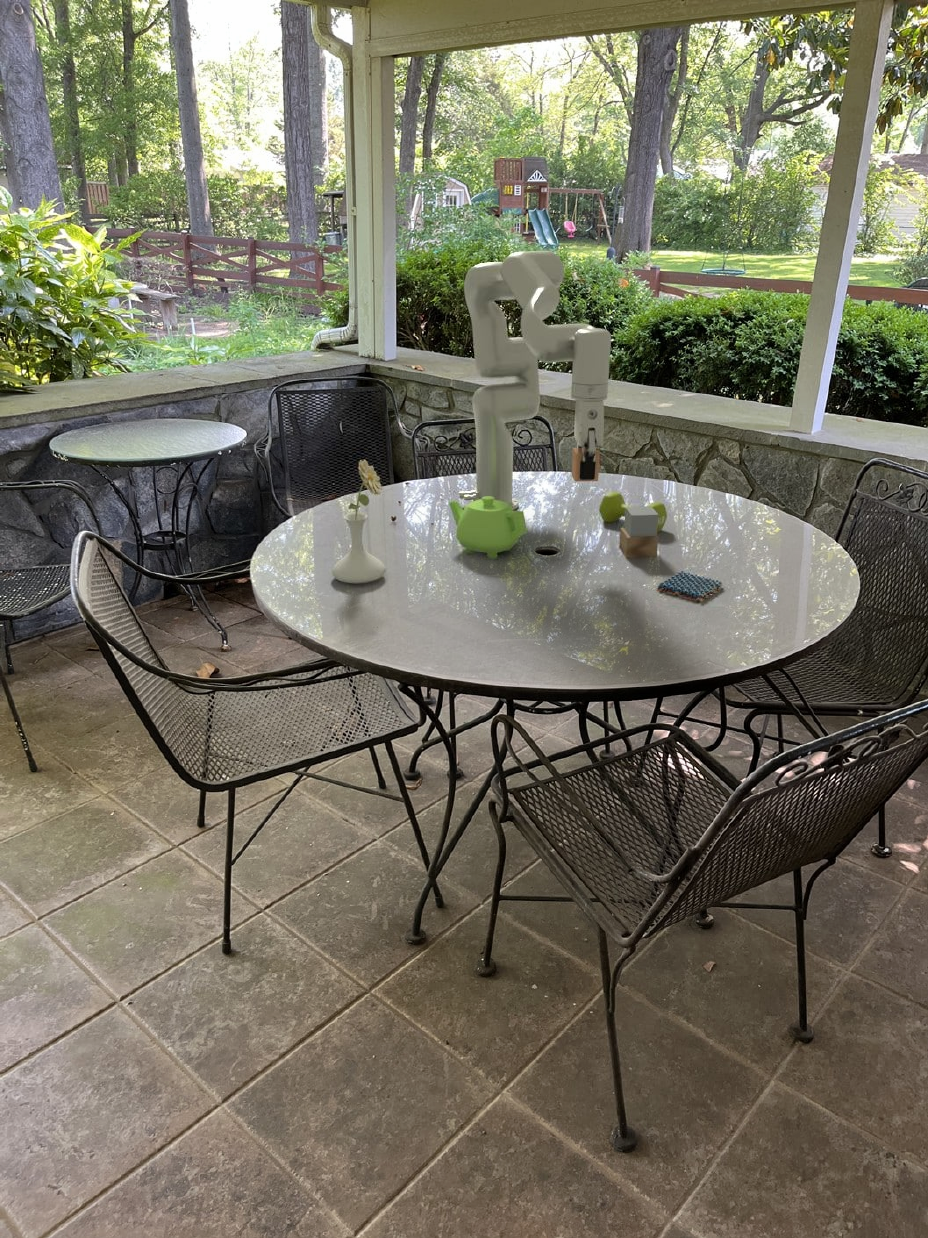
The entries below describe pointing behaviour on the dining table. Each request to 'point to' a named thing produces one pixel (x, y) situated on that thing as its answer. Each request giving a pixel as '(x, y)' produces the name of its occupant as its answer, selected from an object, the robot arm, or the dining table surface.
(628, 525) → the tower top
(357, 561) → the flower in vase
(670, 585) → the woven mat
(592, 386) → the robot arm
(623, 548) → the tower base
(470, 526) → the teapot
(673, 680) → the dining table surface
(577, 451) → the terracotta block
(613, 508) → the dumbbell
